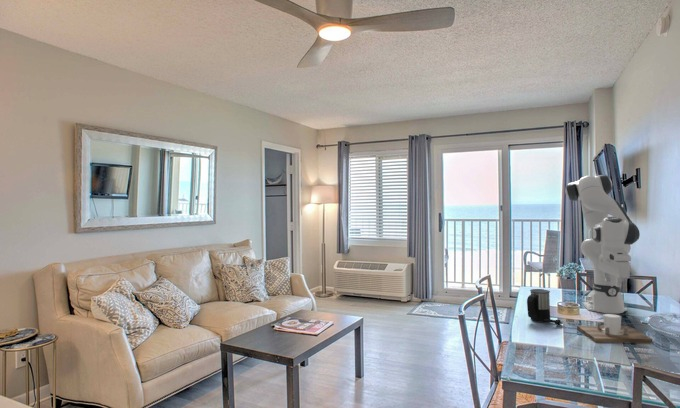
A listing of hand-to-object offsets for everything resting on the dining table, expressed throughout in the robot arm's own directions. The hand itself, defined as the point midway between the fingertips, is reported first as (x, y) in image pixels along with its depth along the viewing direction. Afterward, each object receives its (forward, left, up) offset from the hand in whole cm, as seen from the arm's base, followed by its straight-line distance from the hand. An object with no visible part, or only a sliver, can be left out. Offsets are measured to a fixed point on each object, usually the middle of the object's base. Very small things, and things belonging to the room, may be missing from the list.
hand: (612, 284), depth 186 cm
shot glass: (+5, -3, -20) cm, 21 cm away
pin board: (+5, -3, -21) cm, 22 cm away
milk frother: (-15, -24, -22) cm, 36 cm away
